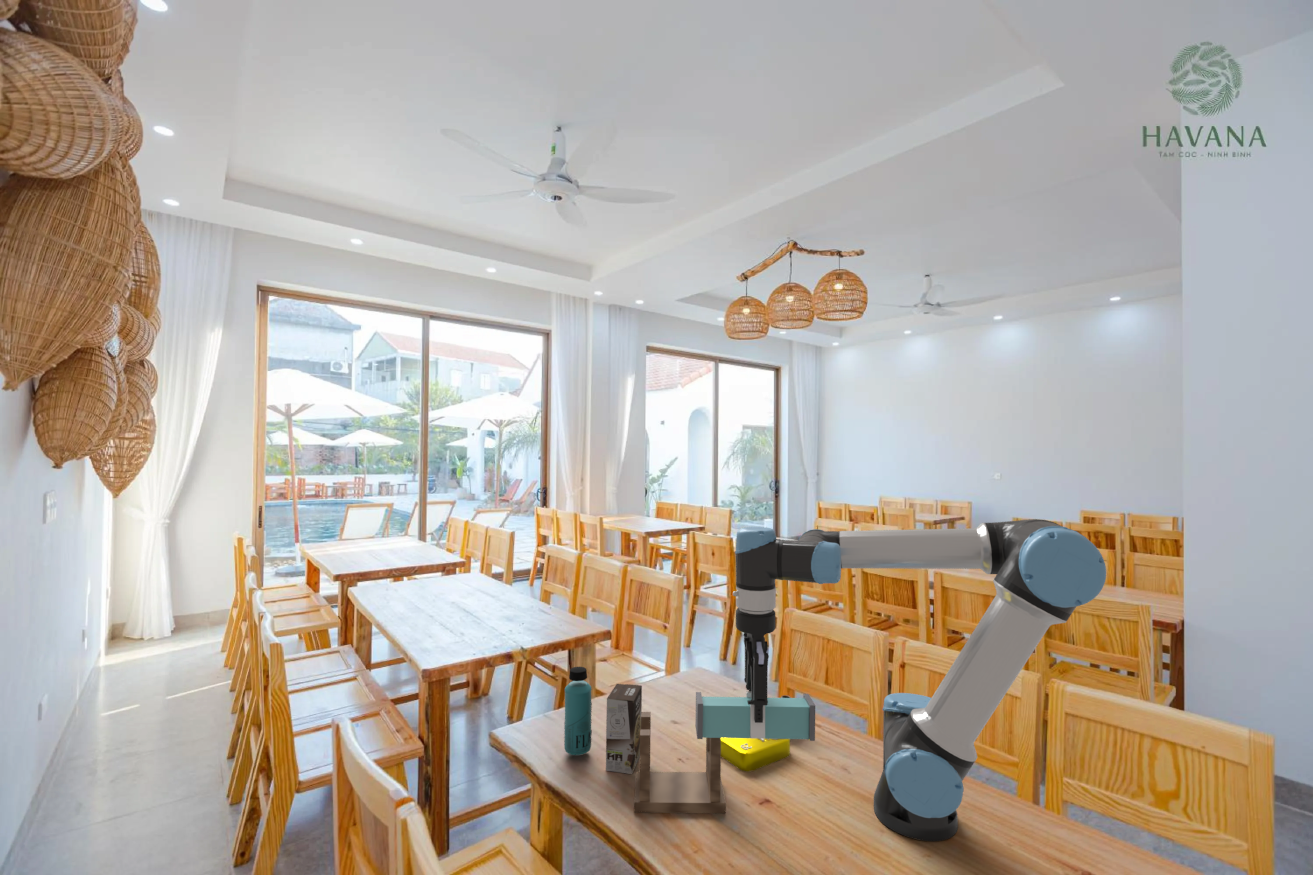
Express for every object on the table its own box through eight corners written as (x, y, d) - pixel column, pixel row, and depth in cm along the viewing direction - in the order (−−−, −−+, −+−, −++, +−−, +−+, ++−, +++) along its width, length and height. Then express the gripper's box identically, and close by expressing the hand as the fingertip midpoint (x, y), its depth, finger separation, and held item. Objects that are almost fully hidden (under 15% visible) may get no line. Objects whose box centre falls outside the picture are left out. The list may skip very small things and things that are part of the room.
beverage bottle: (573, 765, 135) (574, 676, 136) (557, 753, 140) (558, 667, 140) (597, 755, 140) (598, 669, 140) (581, 744, 145) (582, 661, 145)
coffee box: (633, 774, 132) (633, 700, 132) (604, 771, 133) (605, 698, 133) (642, 753, 141) (643, 684, 141) (615, 750, 142) (616, 682, 142)
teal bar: (807, 727, 118) (808, 693, 118) (814, 740, 112) (815, 705, 112) (695, 725, 118) (695, 691, 118) (697, 738, 112) (697, 703, 112)
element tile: (750, 730, 154) (750, 711, 154) (793, 756, 141) (794, 735, 141) (703, 746, 145) (703, 726, 145) (745, 775, 133) (745, 753, 133)
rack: (719, 781, 130) (720, 711, 130) (725, 813, 119) (726, 736, 119) (636, 780, 130) (636, 710, 130) (634, 812, 119) (634, 735, 119)
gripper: (730, 597, 124) (730, 711, 124) (742, 621, 107) (742, 754, 106) (766, 597, 124) (767, 711, 124) (784, 622, 107) (784, 754, 106)
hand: (755, 730), depth 115 cm, fingers closed on teal bar, 4 cm apart
